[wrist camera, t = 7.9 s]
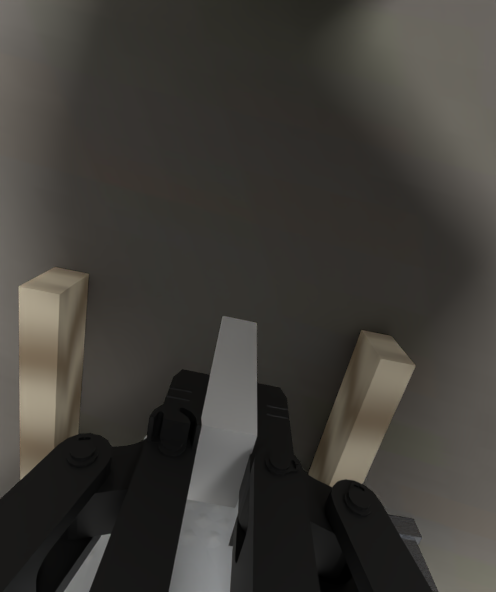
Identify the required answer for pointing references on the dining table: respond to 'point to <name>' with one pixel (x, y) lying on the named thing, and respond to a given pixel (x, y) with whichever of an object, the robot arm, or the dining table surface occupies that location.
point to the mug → (185, 552)
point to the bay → (69, 366)
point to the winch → (413, 544)
